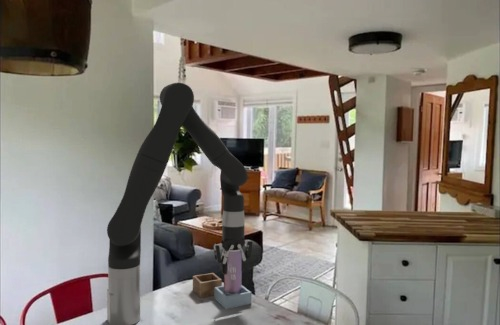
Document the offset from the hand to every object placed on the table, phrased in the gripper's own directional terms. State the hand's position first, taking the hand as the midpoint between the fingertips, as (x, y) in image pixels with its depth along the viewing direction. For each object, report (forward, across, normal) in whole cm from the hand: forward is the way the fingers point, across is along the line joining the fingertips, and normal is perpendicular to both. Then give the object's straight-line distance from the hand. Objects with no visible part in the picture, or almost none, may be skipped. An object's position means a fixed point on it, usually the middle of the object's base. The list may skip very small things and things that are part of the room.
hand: (232, 272), depth 128 cm
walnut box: (+11, -5, +11) cm, 16 cm away
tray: (+11, 0, 0) cm, 11 cm away
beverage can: (+7, 0, 0) cm, 7 cm away
